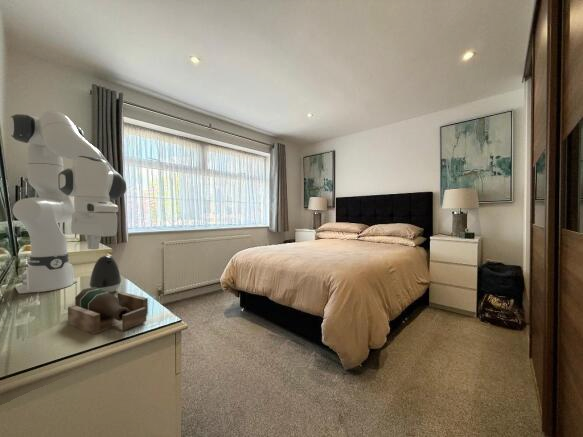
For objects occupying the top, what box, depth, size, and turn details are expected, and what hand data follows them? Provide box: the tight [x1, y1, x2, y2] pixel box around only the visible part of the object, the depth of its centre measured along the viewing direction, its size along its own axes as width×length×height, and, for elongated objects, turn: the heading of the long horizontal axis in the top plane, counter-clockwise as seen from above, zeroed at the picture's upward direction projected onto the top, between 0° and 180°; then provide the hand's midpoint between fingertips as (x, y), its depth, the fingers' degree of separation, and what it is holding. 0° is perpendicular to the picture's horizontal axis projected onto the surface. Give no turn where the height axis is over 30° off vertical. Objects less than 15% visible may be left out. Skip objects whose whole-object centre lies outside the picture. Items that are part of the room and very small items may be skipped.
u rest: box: [67, 291, 149, 336], centre depth 73 cm, size 20×15×5 cm
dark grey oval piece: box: [89, 255, 122, 294], centre depth 98 cm, size 10×10×15 cm
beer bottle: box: [74, 287, 129, 321], centre depth 74 cm, size 8×8×24 cm
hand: (93, 249), depth 78 cm, fingers closed
